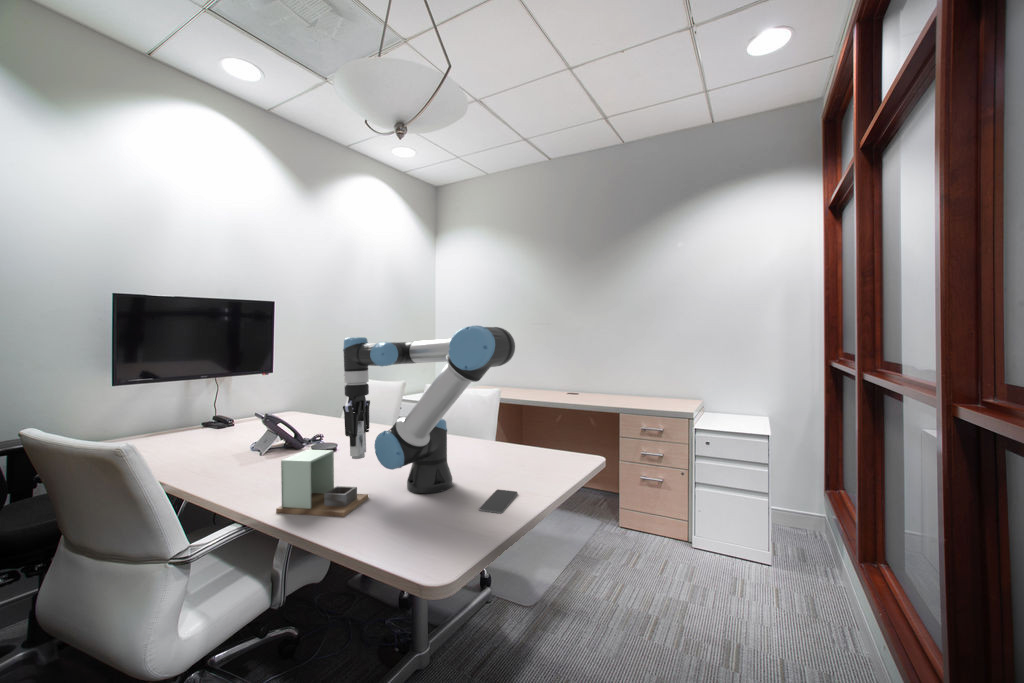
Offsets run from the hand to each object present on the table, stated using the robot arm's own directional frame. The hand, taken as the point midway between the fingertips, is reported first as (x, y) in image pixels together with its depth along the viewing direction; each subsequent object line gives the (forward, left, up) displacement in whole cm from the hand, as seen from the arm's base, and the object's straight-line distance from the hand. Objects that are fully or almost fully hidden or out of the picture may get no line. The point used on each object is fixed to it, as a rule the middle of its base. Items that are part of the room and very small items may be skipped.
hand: (358, 453), depth 139 cm
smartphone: (-48, +5, -12) cm, 50 cm away
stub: (0, 0, -1) cm, 1 cm away
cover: (+8, +14, -11) cm, 19 cm away
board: (+3, +14, -12) cm, 18 cm away
